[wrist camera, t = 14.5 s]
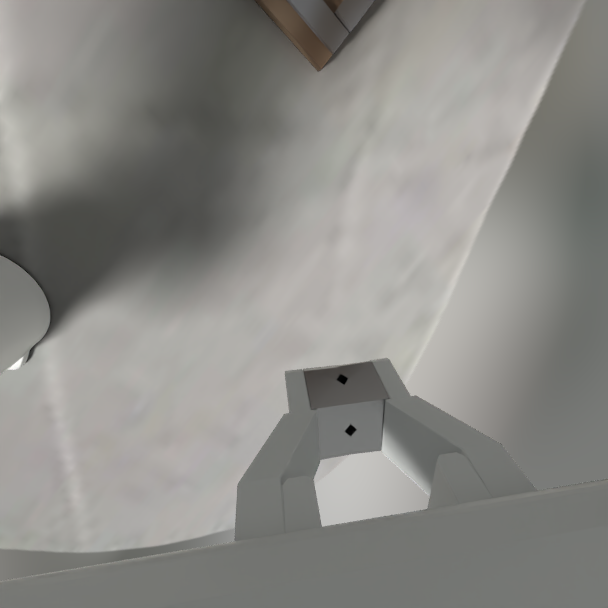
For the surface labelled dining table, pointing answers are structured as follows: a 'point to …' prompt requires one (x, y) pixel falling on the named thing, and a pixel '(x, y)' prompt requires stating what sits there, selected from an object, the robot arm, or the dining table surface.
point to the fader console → (316, 24)
